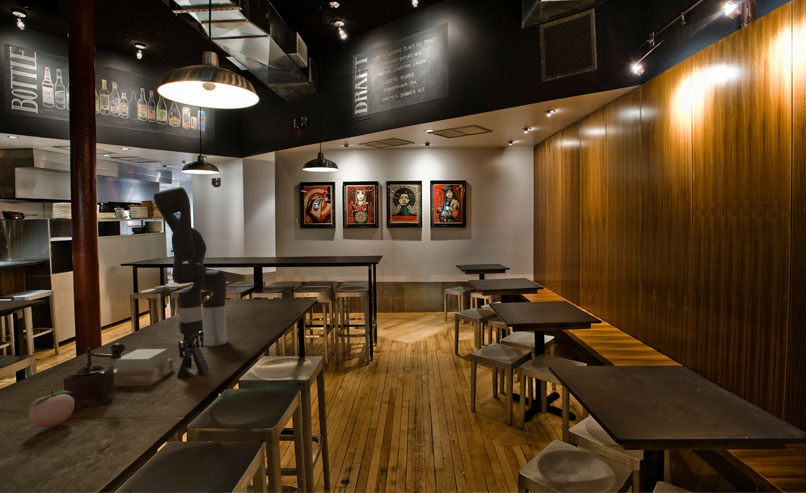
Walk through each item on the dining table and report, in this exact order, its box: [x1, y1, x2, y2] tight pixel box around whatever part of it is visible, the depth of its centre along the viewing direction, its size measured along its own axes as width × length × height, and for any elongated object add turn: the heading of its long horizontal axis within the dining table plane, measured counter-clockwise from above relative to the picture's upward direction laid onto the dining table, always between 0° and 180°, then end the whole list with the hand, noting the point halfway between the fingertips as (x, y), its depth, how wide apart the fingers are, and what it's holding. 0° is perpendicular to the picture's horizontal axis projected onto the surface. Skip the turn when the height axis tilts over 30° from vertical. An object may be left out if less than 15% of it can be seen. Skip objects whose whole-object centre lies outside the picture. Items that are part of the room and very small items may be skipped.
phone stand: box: [176, 342, 209, 379], centre depth 146 cm, size 9×6×12 cm, turn 103°
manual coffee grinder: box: [63, 342, 126, 410], centre depth 125 cm, size 16×11×18 cm
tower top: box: [115, 348, 169, 371], centre depth 143 cm, size 11×11×4 cm
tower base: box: [114, 357, 174, 387], centre depth 143 cm, size 14×14×5 cm
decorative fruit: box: [28, 390, 75, 429], centre depth 108 cm, size 9×8×10 cm
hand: (192, 364), depth 146 cm, fingers closed on phone stand, 6 cm apart
